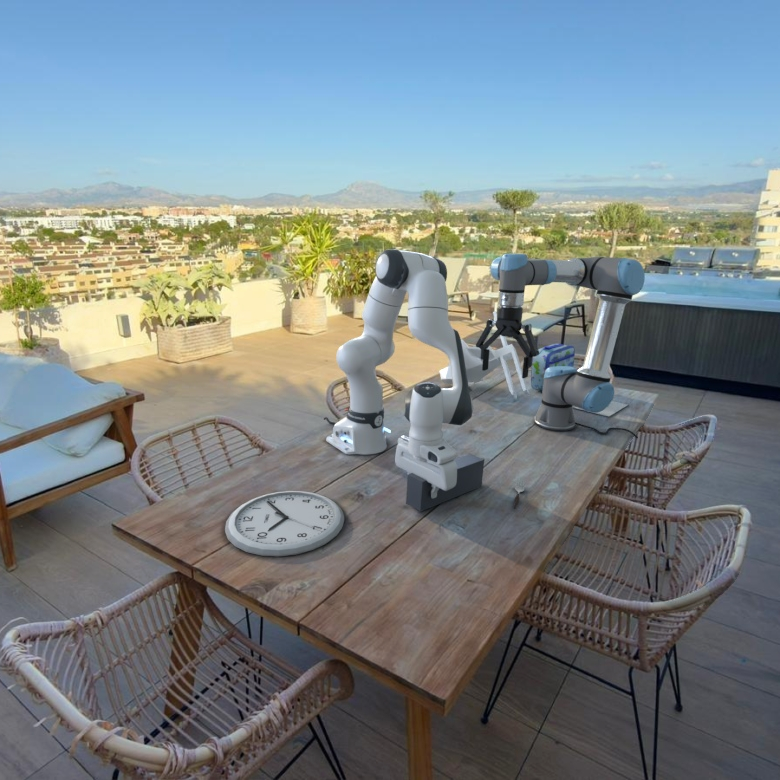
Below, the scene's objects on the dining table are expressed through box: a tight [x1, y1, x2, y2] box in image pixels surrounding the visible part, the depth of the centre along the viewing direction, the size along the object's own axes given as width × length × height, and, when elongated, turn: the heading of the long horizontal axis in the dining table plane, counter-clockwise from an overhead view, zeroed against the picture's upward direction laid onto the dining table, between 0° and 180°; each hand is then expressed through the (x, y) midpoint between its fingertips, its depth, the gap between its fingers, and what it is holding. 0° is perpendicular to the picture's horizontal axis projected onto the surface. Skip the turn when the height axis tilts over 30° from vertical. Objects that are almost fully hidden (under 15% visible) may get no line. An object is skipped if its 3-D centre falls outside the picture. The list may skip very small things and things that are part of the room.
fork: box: [513, 478, 526, 510], centre depth 148 cm, size 3×16×2 cm, turn 160°
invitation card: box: [573, 400, 629, 418], centre depth 226 cm, size 21×1×15 cm
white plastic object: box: [438, 310, 531, 400], centre depth 245 cm, size 37×45×31 cm
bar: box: [405, 453, 485, 512], centre depth 147 cm, size 26×6×9 cm, turn 131°
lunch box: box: [530, 343, 576, 391], centre depth 249 cm, size 26×11×21 cm, turn 134°
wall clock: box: [224, 490, 345, 557], centre depth 134 cm, size 30×2×30 cm
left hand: (423, 492), depth 142 cm, fingers closed on bar, 6 cm apart
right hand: (504, 373), depth 165 cm, fingers open, 13 cm apart
